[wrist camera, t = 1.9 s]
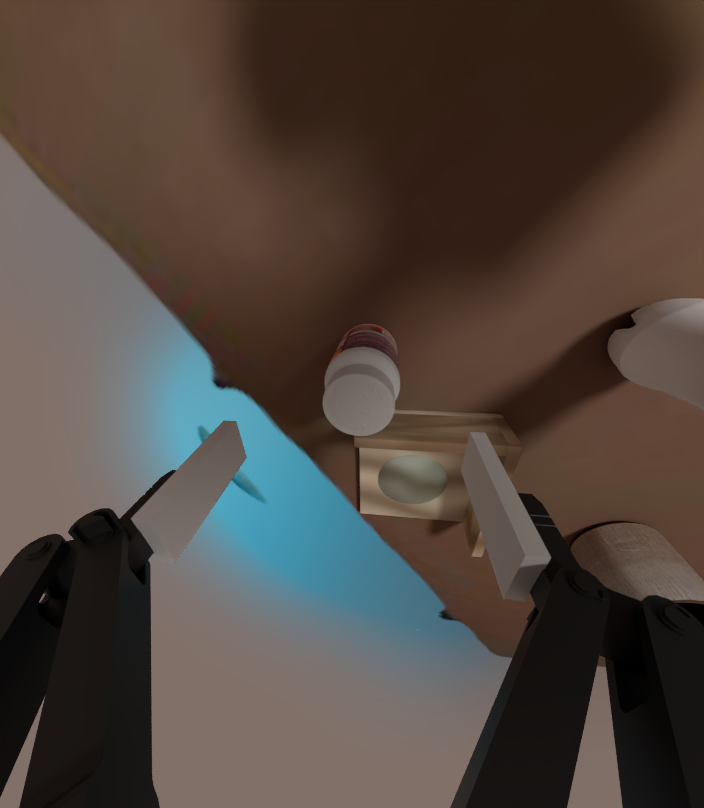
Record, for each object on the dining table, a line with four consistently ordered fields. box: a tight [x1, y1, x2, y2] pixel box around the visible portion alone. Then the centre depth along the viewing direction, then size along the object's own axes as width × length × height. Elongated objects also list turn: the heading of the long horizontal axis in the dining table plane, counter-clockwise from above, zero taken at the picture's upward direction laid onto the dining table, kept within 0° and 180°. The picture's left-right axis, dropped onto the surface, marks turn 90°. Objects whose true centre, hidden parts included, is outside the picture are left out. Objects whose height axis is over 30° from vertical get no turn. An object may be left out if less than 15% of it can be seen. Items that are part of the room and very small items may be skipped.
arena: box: [354, 410, 523, 557], centre depth 33 cm, size 18×16×6 cm
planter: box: [570, 522, 704, 627], centre depth 34 cm, size 11×11×10 cm
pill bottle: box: [323, 324, 400, 436], centre depth 24 cm, size 6×6×11 cm
